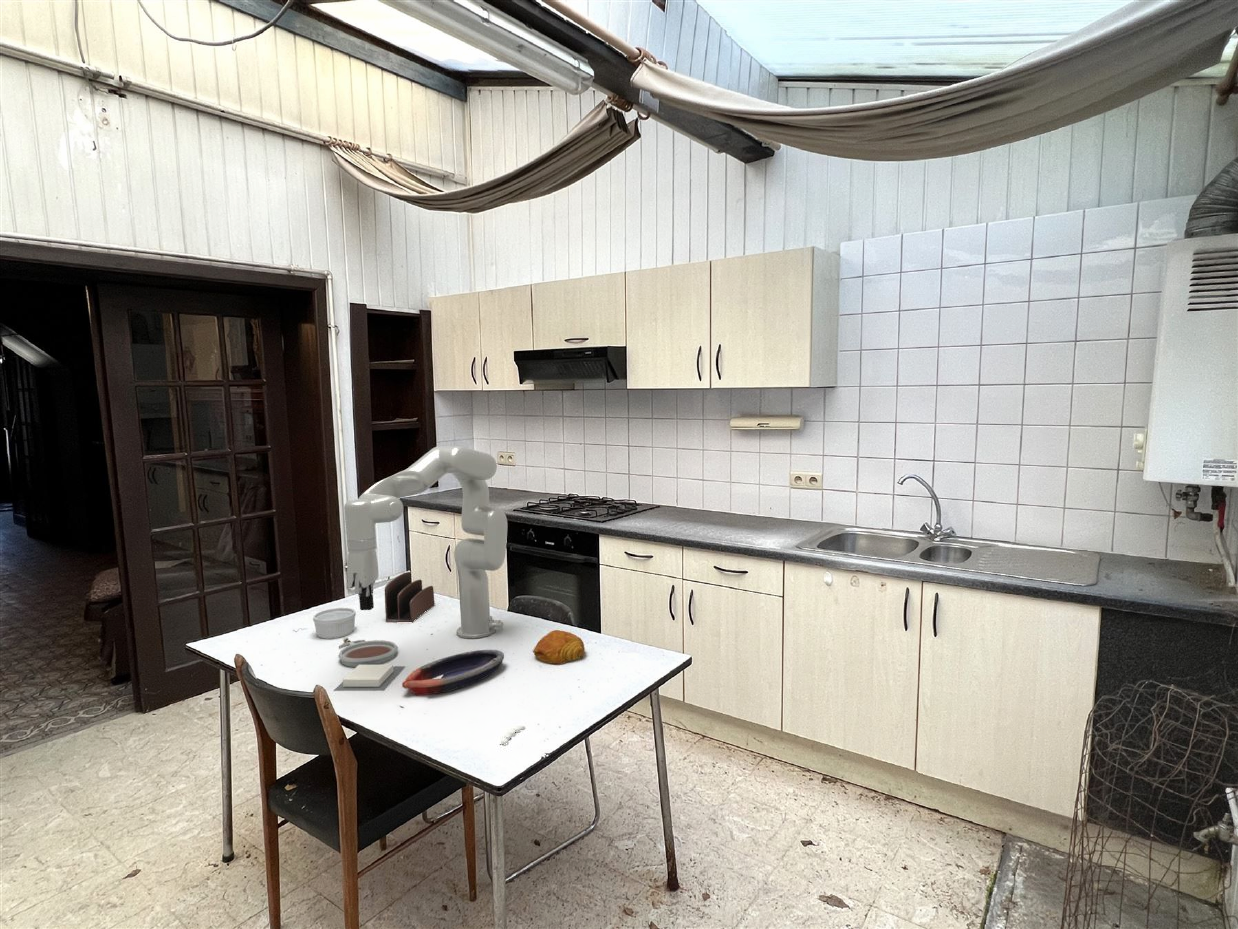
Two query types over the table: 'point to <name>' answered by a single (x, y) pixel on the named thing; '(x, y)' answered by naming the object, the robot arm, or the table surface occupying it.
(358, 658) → the oval picture frame
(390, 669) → the tile
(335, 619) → the ramekin
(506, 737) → the white bumpy strip
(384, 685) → the mat
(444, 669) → the dish
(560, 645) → the croissant
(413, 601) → the letter holder
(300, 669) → the table surface
